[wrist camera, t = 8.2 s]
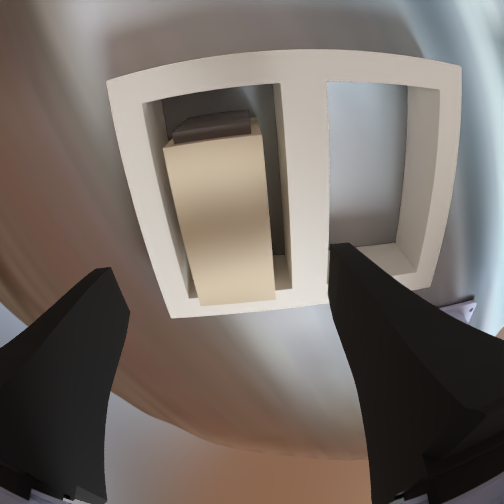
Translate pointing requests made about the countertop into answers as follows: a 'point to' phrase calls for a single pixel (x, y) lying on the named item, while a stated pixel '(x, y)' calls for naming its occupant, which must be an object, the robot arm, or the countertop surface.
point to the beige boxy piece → (223, 206)
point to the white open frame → (295, 164)
